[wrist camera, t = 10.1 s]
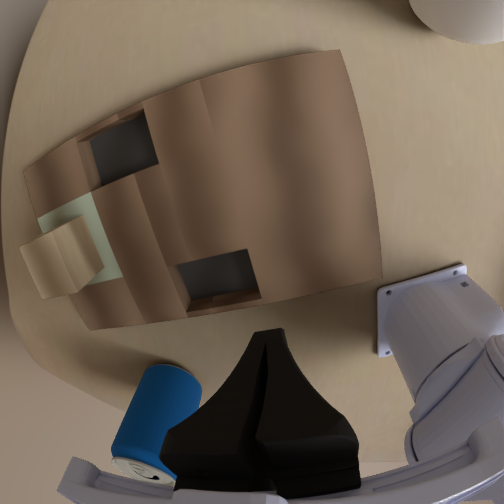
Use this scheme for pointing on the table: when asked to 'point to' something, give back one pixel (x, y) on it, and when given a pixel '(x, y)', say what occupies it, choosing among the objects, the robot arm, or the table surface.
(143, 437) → the beverage can
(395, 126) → the table surface
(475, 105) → the table surface
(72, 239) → the block
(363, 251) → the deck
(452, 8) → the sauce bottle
